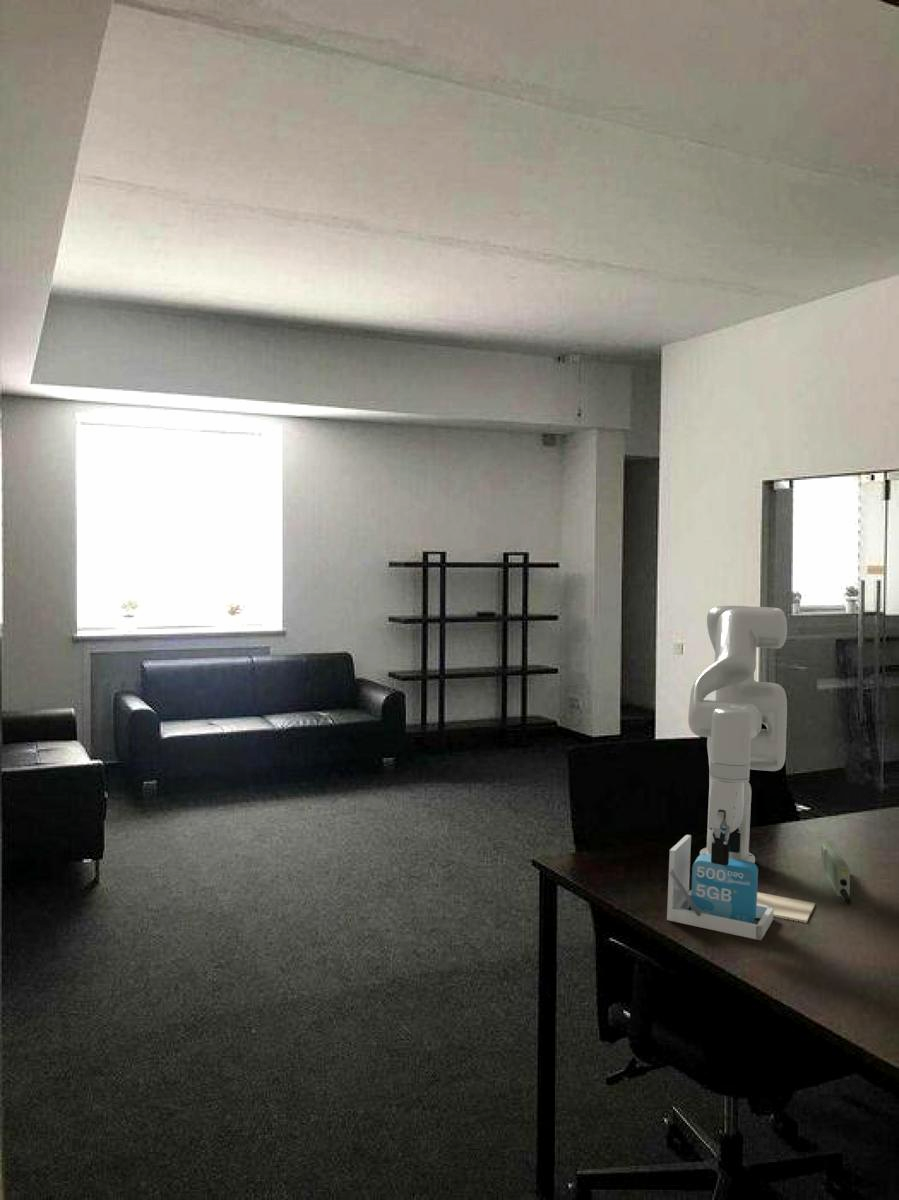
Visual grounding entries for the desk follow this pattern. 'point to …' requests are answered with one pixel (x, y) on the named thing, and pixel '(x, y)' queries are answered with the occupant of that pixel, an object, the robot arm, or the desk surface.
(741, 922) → the stand
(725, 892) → the data package
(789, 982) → the desk surface
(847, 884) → the handheld radio
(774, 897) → the birch board
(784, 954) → the desk surface
